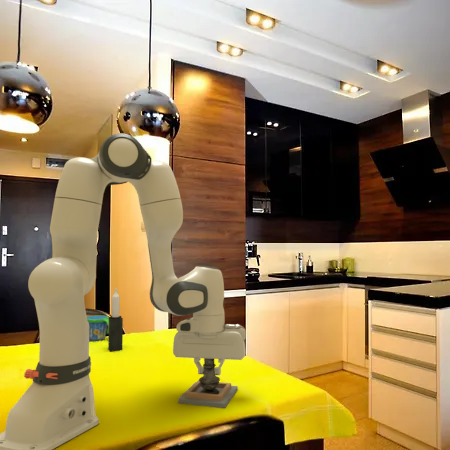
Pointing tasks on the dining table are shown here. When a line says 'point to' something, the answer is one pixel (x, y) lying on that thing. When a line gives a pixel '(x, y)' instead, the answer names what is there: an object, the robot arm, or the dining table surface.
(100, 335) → the snack cup
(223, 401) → the base plate
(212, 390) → the salt shaker
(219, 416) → the dining table surface
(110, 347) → the candle
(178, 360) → the dining table surface
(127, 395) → the dining table surface
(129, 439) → the dining table surface
